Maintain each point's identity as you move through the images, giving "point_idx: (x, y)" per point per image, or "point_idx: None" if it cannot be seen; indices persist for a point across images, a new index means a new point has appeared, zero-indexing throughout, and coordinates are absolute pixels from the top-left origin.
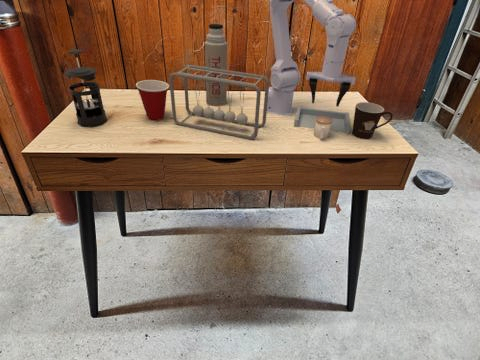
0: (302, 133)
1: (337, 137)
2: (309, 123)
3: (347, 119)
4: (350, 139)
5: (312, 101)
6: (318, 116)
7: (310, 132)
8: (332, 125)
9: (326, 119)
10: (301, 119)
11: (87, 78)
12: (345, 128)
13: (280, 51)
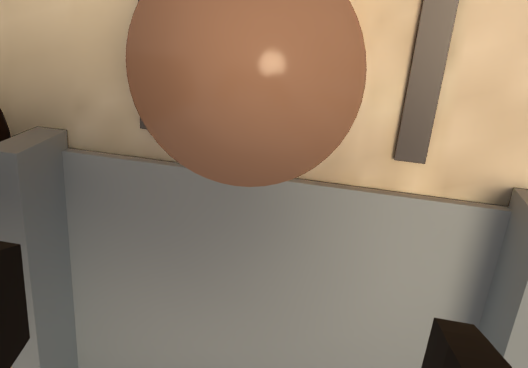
0: (471, 75)
1: None
2: (374, 281)
3: None
4: (16, 41)
5: (486, 339)
6: (322, 151)
7: (380, 115)
8: (167, 267)
9: (211, 65)
10: None
11: None
12: (51, 190)
13: None
